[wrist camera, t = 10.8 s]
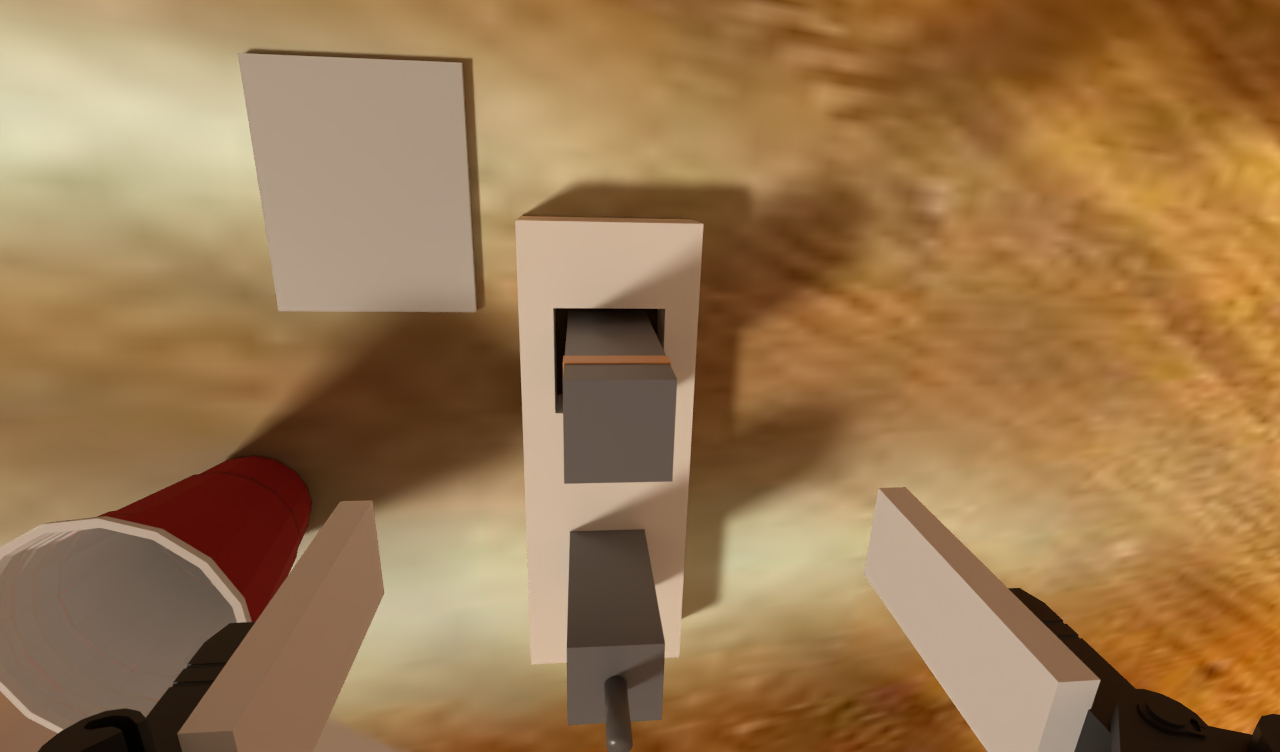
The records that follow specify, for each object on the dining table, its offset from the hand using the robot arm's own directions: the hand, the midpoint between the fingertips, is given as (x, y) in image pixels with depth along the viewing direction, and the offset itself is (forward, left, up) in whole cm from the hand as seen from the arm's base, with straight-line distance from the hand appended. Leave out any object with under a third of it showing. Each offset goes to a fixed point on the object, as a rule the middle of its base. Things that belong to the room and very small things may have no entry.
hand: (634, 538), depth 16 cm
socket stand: (+6, 0, -20) cm, 20 cm away
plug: (0, 0, -20) cm, 20 cm away
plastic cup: (+9, -20, -20) cm, 29 cm away
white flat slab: (-8, -12, -20) cm, 24 cm away
